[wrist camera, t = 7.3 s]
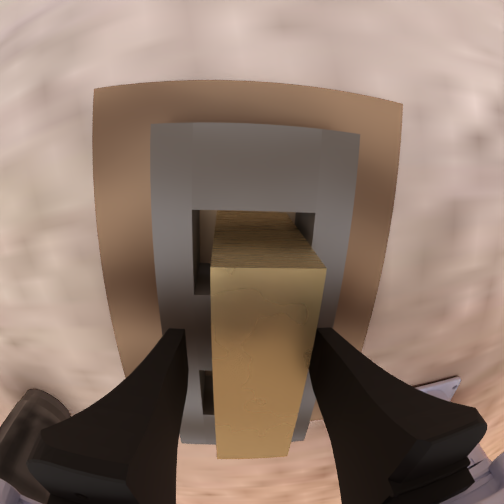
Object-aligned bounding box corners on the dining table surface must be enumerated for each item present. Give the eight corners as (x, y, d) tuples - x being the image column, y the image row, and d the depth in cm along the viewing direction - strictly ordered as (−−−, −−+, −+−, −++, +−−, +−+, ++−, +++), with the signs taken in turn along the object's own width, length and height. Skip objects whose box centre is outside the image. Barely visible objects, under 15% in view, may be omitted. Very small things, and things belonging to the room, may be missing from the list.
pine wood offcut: (270, 369, 17) (286, 456, 11) (217, 370, 16) (217, 458, 11) (285, 212, 14) (326, 268, 8) (217, 210, 13) (210, 267, 8)
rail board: (335, 407, 20) (350, 448, 16) (141, 409, 19) (131, 453, 15) (392, 104, 13) (440, 100, 9) (102, 91, 12) (62, 79, 8)
